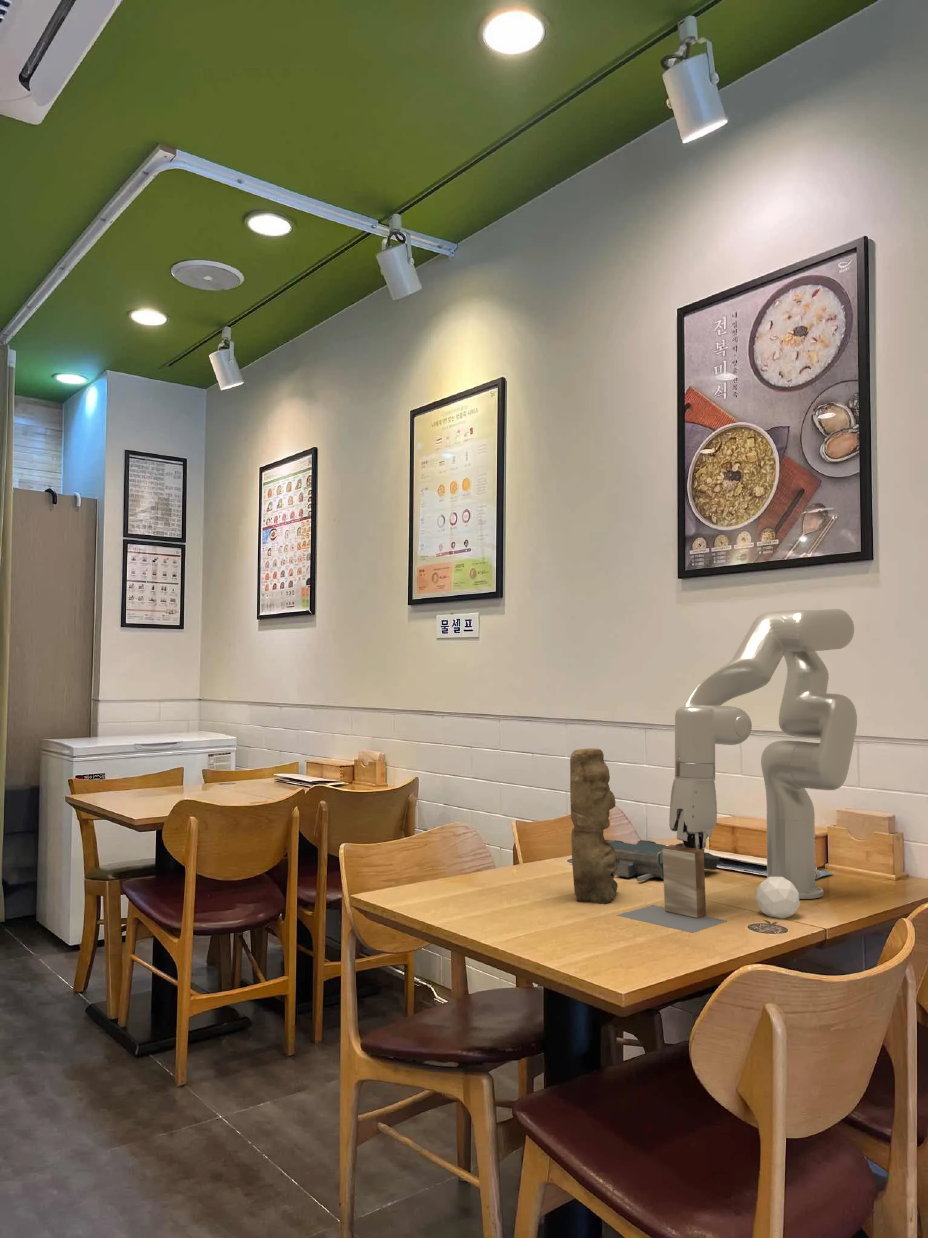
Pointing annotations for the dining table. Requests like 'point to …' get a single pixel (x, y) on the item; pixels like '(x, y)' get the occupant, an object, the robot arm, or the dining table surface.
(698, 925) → the mat
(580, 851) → the sculpture
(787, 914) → the geometric ball
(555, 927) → the dining table surface
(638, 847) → the toy
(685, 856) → the wooden block
